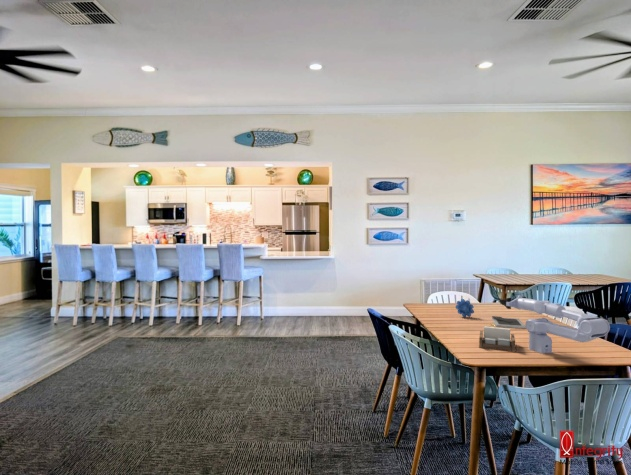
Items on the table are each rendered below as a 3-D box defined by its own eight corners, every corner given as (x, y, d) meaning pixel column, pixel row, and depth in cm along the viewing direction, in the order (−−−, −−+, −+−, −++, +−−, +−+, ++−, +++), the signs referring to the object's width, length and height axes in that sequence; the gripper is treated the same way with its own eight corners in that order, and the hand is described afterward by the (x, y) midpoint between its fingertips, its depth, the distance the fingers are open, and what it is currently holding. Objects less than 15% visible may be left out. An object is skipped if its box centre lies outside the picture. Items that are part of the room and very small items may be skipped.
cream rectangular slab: (510, 345, 197) (510, 329, 197) (483, 342, 202) (483, 327, 202) (509, 344, 198) (510, 328, 198) (483, 342, 203) (483, 326, 203)
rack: (515, 353, 187) (515, 341, 187) (478, 349, 194) (478, 337, 194) (513, 340, 209) (513, 329, 209) (480, 336, 216) (480, 326, 216)
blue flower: (456, 318, 261) (456, 299, 261) (454, 315, 268) (455, 298, 267) (475, 318, 259) (475, 300, 258) (473, 316, 265) (473, 298, 265)
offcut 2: (509, 350, 190) (509, 340, 190) (498, 348, 192) (498, 339, 192) (509, 348, 192) (509, 339, 192) (497, 347, 194) (498, 338, 194)
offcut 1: (495, 348, 192) (495, 340, 192) (485, 347, 194) (485, 339, 194) (495, 347, 195) (495, 338, 195) (485, 345, 197) (485, 337, 196)
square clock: (491, 320, 258) (496, 328, 238) (491, 316, 258) (496, 323, 238) (518, 322, 253) (525, 330, 233) (518, 317, 253) (525, 325, 233)
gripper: (538, 295, 199) (517, 292, 212) (515, 297, 194) (495, 294, 207) (539, 309, 198) (517, 306, 211) (516, 311, 194) (495, 308, 207)
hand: (506, 301), depth 209 cm, fingers open, 7 cm apart
